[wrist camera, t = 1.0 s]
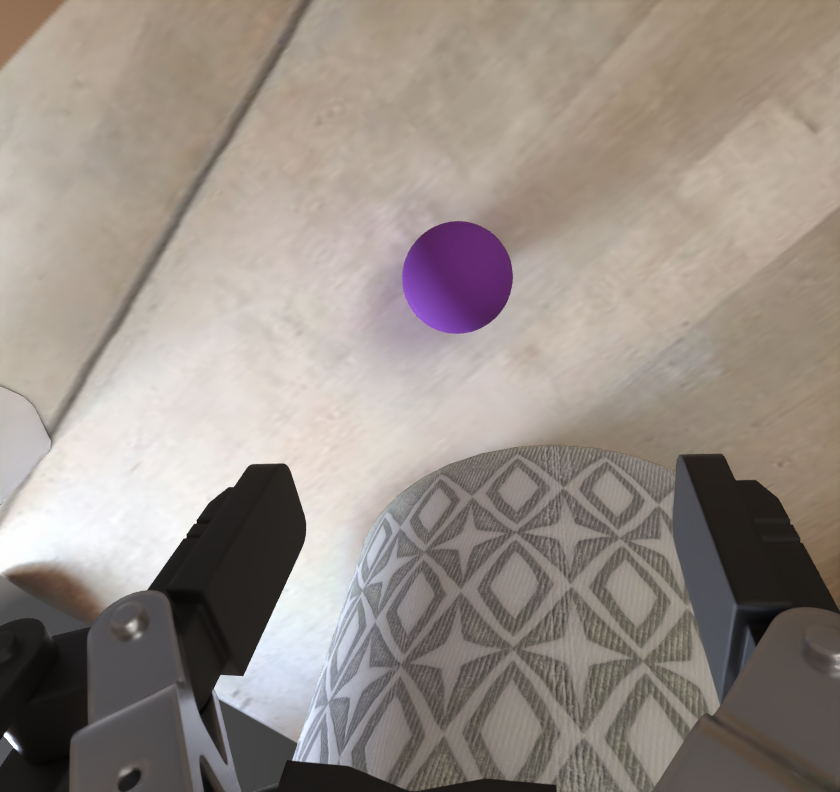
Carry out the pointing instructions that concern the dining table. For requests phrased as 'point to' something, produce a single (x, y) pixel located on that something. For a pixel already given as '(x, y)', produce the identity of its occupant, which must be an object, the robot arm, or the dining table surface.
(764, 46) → the dining table surface
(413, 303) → the ball
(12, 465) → the cup
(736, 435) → the dining table surface
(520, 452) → the planter
